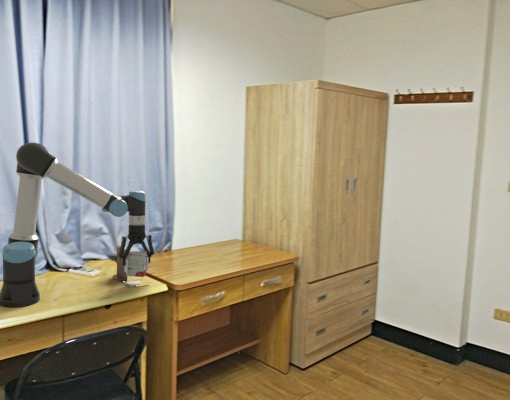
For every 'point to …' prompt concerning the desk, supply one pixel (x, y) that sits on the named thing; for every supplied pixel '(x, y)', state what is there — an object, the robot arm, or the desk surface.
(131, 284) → the mat
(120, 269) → the screen
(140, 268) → the ink box
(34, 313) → the desk surface
